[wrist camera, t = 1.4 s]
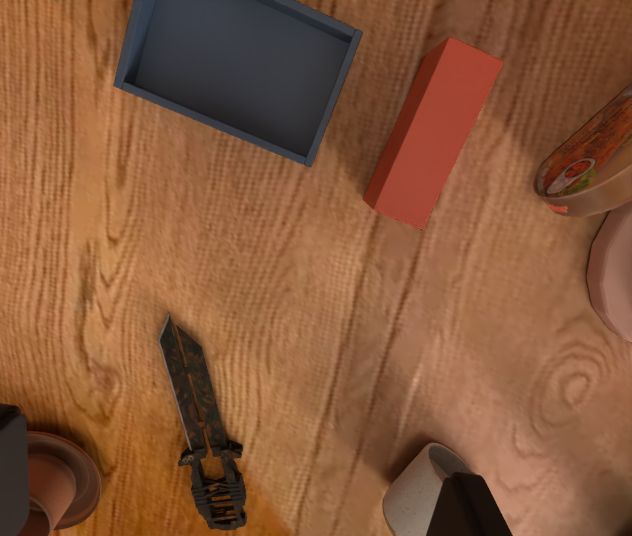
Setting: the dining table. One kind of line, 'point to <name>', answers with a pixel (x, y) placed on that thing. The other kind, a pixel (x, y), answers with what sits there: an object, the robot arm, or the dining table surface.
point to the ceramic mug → (420, 490)
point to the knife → (195, 434)
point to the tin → (592, 164)
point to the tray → (241, 67)
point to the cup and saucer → (59, 484)
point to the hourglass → (613, 271)
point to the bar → (431, 130)
